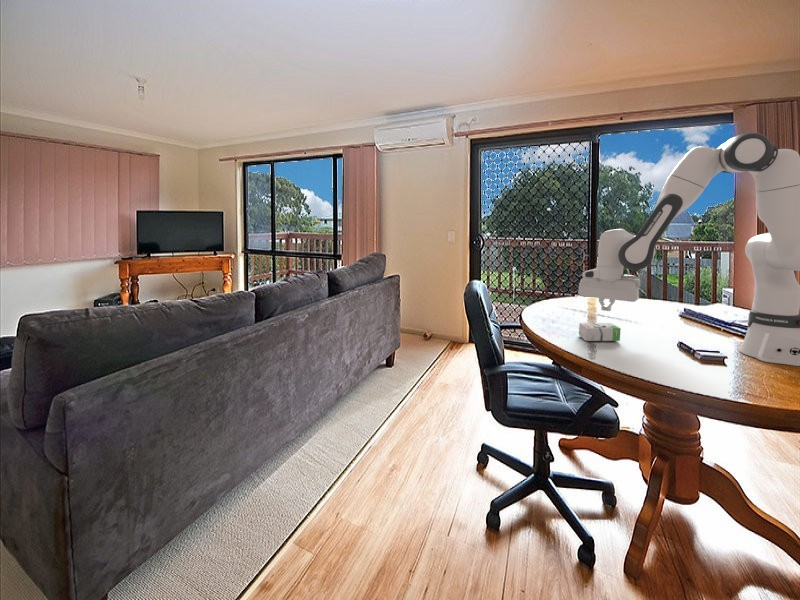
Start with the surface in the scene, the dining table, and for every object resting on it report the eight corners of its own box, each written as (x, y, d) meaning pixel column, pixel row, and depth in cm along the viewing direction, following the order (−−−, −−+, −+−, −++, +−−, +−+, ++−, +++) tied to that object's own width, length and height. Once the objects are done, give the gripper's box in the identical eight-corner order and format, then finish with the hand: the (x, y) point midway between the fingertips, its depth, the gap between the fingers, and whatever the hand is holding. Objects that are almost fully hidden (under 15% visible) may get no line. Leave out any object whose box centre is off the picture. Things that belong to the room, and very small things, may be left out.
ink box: (621, 328, 146) (587, 328, 147) (620, 341, 147) (586, 341, 148) (611, 322, 155) (578, 322, 156) (610, 335, 156) (578, 335, 157)
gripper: (643, 275, 146) (639, 313, 149) (584, 270, 160) (581, 305, 162) (638, 277, 142) (634, 316, 144) (578, 272, 155) (575, 308, 158)
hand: (606, 310), depth 153 cm, fingers closed
